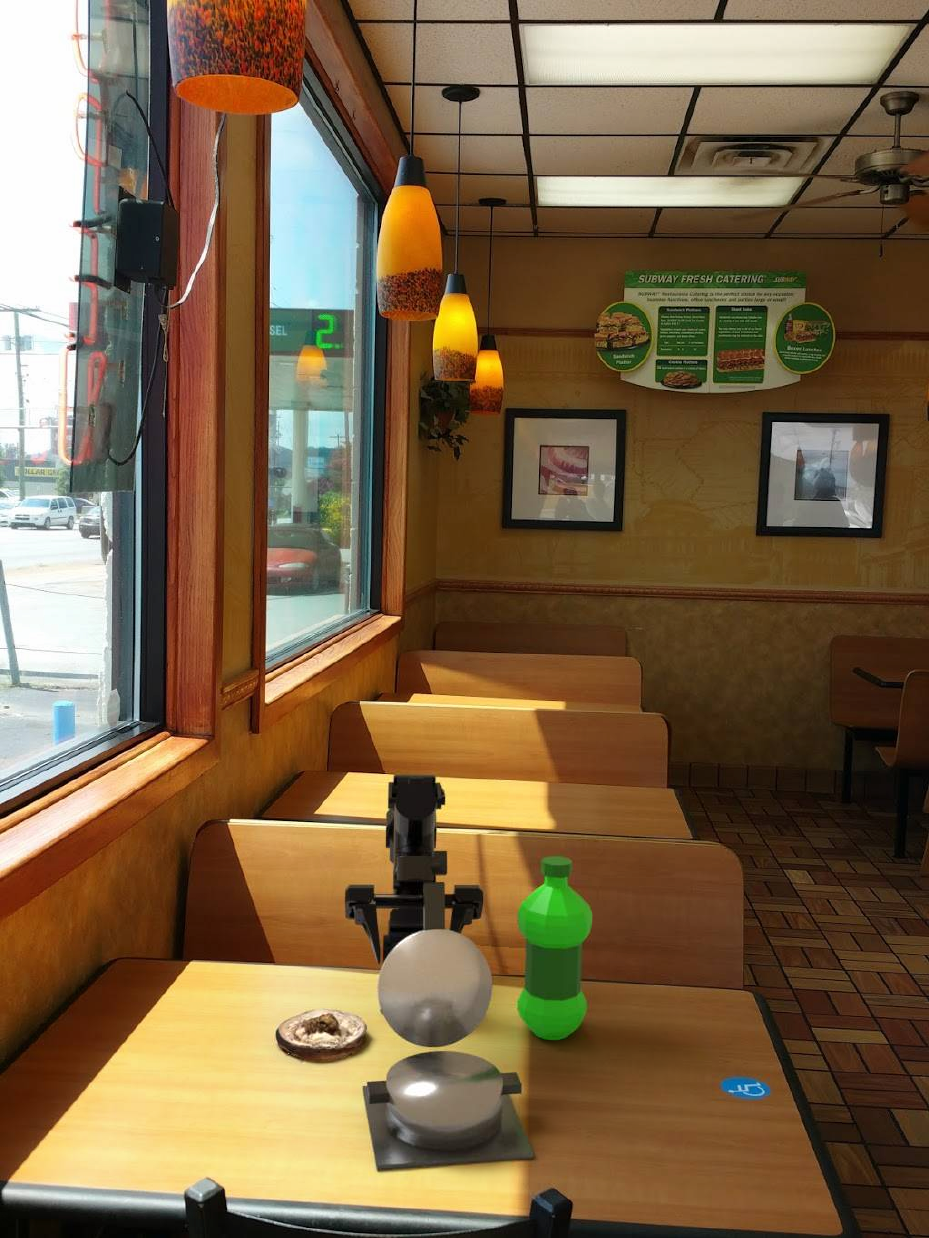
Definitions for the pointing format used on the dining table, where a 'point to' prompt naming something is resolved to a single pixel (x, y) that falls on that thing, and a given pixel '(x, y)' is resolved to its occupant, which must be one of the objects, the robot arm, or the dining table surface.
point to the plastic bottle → (553, 953)
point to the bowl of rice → (321, 1035)
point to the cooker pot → (444, 1113)
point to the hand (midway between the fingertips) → (413, 962)
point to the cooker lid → (434, 980)
